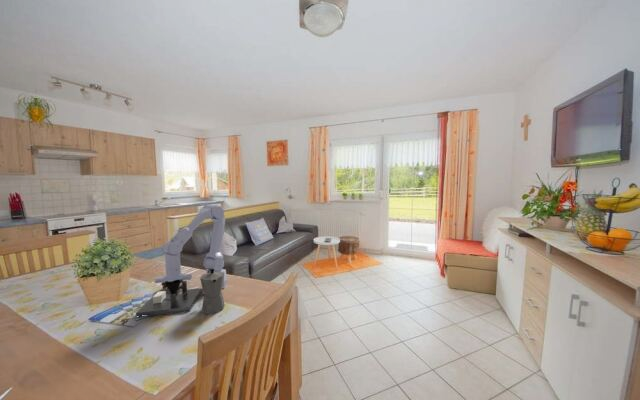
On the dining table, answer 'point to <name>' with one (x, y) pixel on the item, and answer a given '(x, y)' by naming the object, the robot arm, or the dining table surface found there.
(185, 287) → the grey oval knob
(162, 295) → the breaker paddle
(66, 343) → the dining table surface
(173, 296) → the black cylinder
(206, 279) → the coffeepot
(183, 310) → the panel
